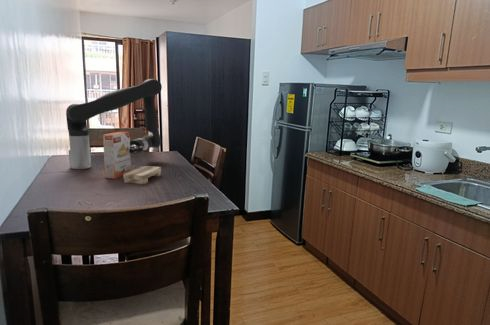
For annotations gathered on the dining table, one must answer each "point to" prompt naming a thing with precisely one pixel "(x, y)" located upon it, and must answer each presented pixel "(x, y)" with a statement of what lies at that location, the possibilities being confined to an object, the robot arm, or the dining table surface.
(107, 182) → the dining table surface
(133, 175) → the birch stand
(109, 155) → the cracker box
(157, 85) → the robot arm
